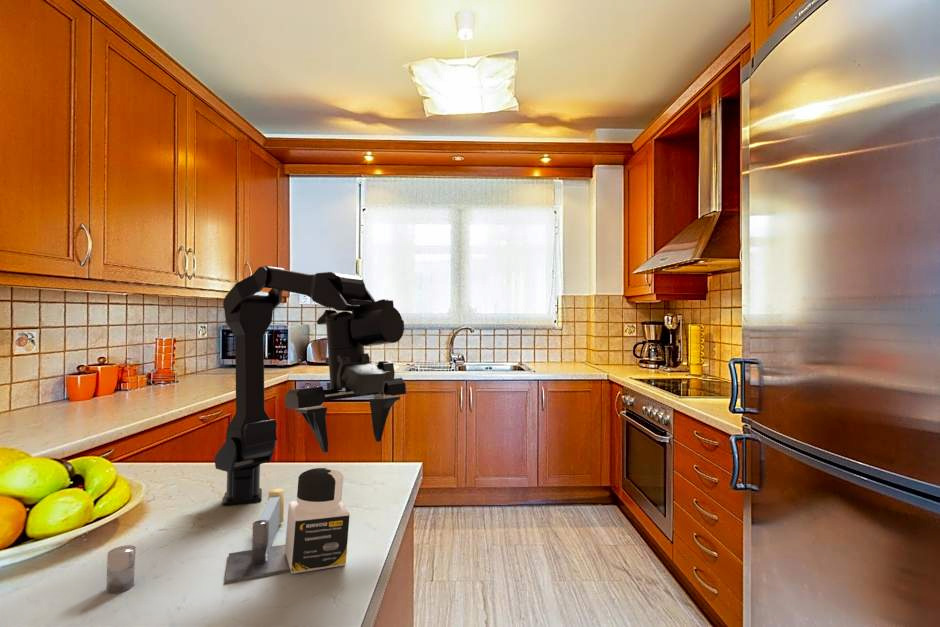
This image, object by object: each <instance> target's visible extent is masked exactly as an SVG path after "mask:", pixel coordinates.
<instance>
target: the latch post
mask: <svg viewBox="0 0 940 627" xmlns="http://www.w3.org/2000/svg"><path fill="white" fill-rule="evenodd" d="M106 562H107V564H106V588H105V589H106V591H105V592H106V593H107V594H119V593H123V592H125V591H129V590H130V589H132V588H133V587H134V586H135V575H136V572H135V569H136V568H135V567H136V546H135V545H132V544H130V545H121V546H117V547H114V548H112V549H110V550H109V551H107V561H106Z"/></svg>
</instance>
